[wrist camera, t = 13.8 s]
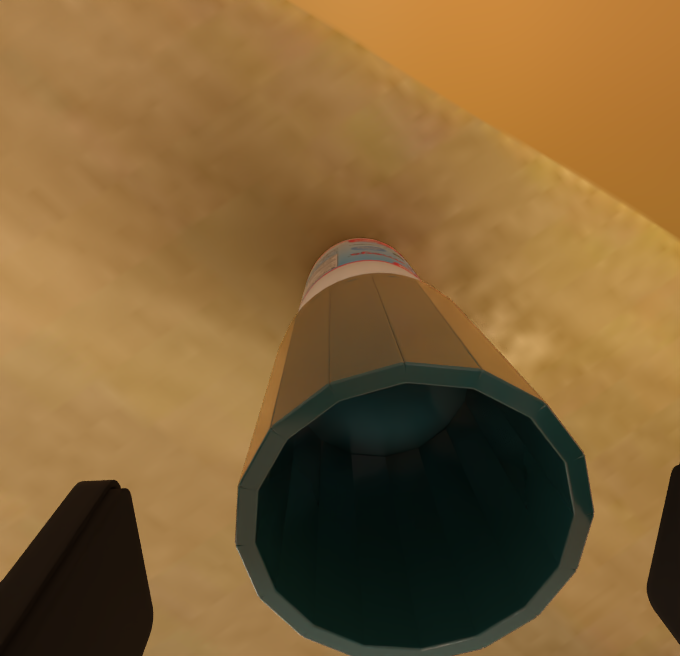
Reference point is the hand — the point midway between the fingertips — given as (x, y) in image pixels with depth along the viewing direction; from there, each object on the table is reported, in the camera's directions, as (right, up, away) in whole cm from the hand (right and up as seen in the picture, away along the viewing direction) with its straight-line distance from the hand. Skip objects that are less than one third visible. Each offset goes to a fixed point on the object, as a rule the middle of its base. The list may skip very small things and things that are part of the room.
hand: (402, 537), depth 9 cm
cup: (0, +2, +8) cm, 9 cm away
